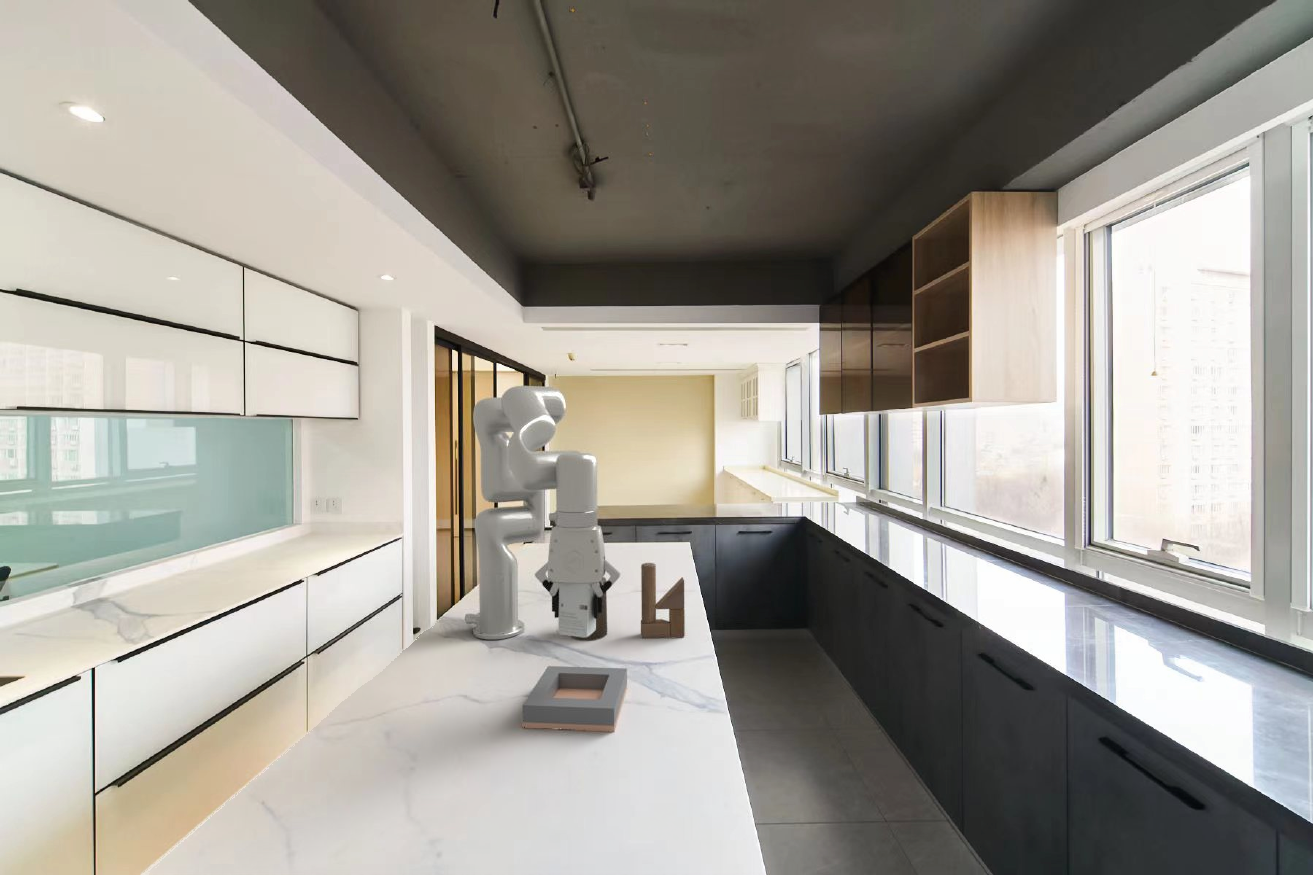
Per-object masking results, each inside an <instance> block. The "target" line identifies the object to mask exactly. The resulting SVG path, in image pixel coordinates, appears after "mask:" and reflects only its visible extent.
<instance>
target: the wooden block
mask: <svg viewBox="0 0 1313 875" xmlns="http://www.w3.org/2000/svg"><path fill="white" fill-rule="evenodd" d="M656 566H657V565H656V563H654V562H643V563H642V564H641V567H640V569H641V574H640V575H641V578H640V580H641V583H640V584H641V585H640V586H641V588H640V589H641V591H640V592H641V619H640V637H641V639H658V638H659V639H660V638H661V639H663V638H666V637H667V638H671V637H675V638H685V636H686V634H685V633H686V632H685V631H686V630H685V629H686V628H685V626H686V625H685V624H686V623H685V622H686V621H685V620H686V618H685V616H686V615H685V579H684V577H683V576H682V577H681V578H680V579H678V581H676V583H675V584H674V585H673V586H672V587H671V588H670V589H669V590H668V591H667V592H666V593H665V594H664V595H663V596H662V597H661V598H660V599H659V600H658V601H657V590H656V589H657V588H656V587H657V578H656V576H657V574H656V573H657V569H656V568H657V567H656ZM657 610H668V616H669V617H668V618H669V619H668V620H666V619H663V618H658V619H657Z"/></svg>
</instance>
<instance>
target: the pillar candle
mask: <svg viewBox="0 0 1313 875" xmlns="http://www.w3.org/2000/svg"><path fill="white" fill-rule="evenodd" d="M601 581H602V583H603V584H604V583H605V582H606V581H607V578H606V577H605V576H603V578H602V580H601ZM607 600H608V599H607V591H606V592H605V593H604V594H603V613H600V616H599V617H598V619H596V630H595V631H594V632H593V633H592V634H591V635H589V636H588V637H585V638H583V637H576V636H569V638H572V639H574V640H579V641H594V640H598V639H601V638H603V637H605V636H606V635H608V611H607V610H608V607H607V606H608V605H607V604H608V603H607V602H608V601H607Z"/></svg>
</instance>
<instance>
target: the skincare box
mask: <svg viewBox="0 0 1313 875" xmlns="http://www.w3.org/2000/svg"><path fill="white" fill-rule="evenodd" d="M594 596H595V591H594V588H593V586H592V584H562V583H560V586H559V617H558V622H557V623H558V630H557V634H558V635H563V636H569V637H570V636H576V637H583V638H585V637H588V636H589V635H591V634H592V633H593V632H594V631H595V630H596V619H595V618H594Z"/></svg>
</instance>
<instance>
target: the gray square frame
mask: <svg viewBox="0 0 1313 875" xmlns="http://www.w3.org/2000/svg"><path fill="white" fill-rule="evenodd" d="M627 690H628V667H627V668H623V667H621V668H620V667H594V666H593V667H587V666H564V665H563V666H561V665H559V666H557V665H548V666H547V667H546V668H545V670H544V672H543V673H542V675H541V676H540V677H539V679H538V681H537V683H536V684H535V686H534V687H533V688H532V690H531V692H530V693H529V694H528V696H527V698H526V699H525V701H524V702H523V704H522V729H533V728H558V729H560V728H561V729H572V730H571V731H583V730H585V731H587V732H588V731H589V732H608V731H609V732H611V733H614V732H616V731H615V730H616V728H617V723H618V721H619V718H620V713H621V711H622V710H621V709H622V707H623V704H624V700H625V698H626V694H627ZM524 727H525V728H524ZM558 729H557V730H558ZM573 729H575V730H573Z"/></svg>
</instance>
